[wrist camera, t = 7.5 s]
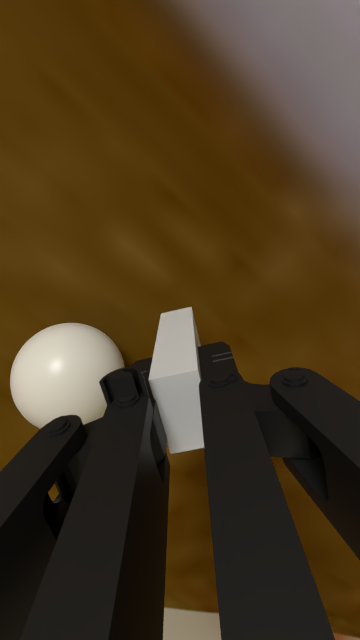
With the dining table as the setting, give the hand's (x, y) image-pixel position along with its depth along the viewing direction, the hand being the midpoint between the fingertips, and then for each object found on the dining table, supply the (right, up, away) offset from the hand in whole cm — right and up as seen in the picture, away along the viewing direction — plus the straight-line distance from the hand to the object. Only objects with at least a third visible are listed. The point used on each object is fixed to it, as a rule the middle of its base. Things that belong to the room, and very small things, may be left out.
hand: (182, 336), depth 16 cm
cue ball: (-6, -2, +1) cm, 6 cm away
